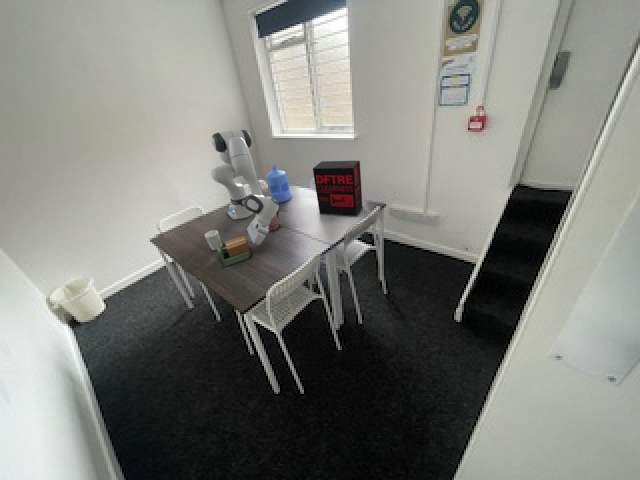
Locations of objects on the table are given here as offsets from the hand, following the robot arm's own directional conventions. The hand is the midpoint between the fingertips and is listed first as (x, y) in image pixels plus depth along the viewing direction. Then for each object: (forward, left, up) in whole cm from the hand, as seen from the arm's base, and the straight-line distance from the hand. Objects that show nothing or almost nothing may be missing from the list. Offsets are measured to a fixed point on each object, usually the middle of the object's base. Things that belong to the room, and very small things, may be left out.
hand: (248, 244), depth 150 cm
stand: (-3, -8, -5) cm, 10 cm away
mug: (-10, +26, -5) cm, 28 cm away
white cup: (-23, -10, -5) cm, 25 cm away
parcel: (-2, -6, -5) cm, 8 cm away
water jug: (-43, +59, -5) cm, 73 cm away
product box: (+14, +66, -5) cm, 68 cm away
